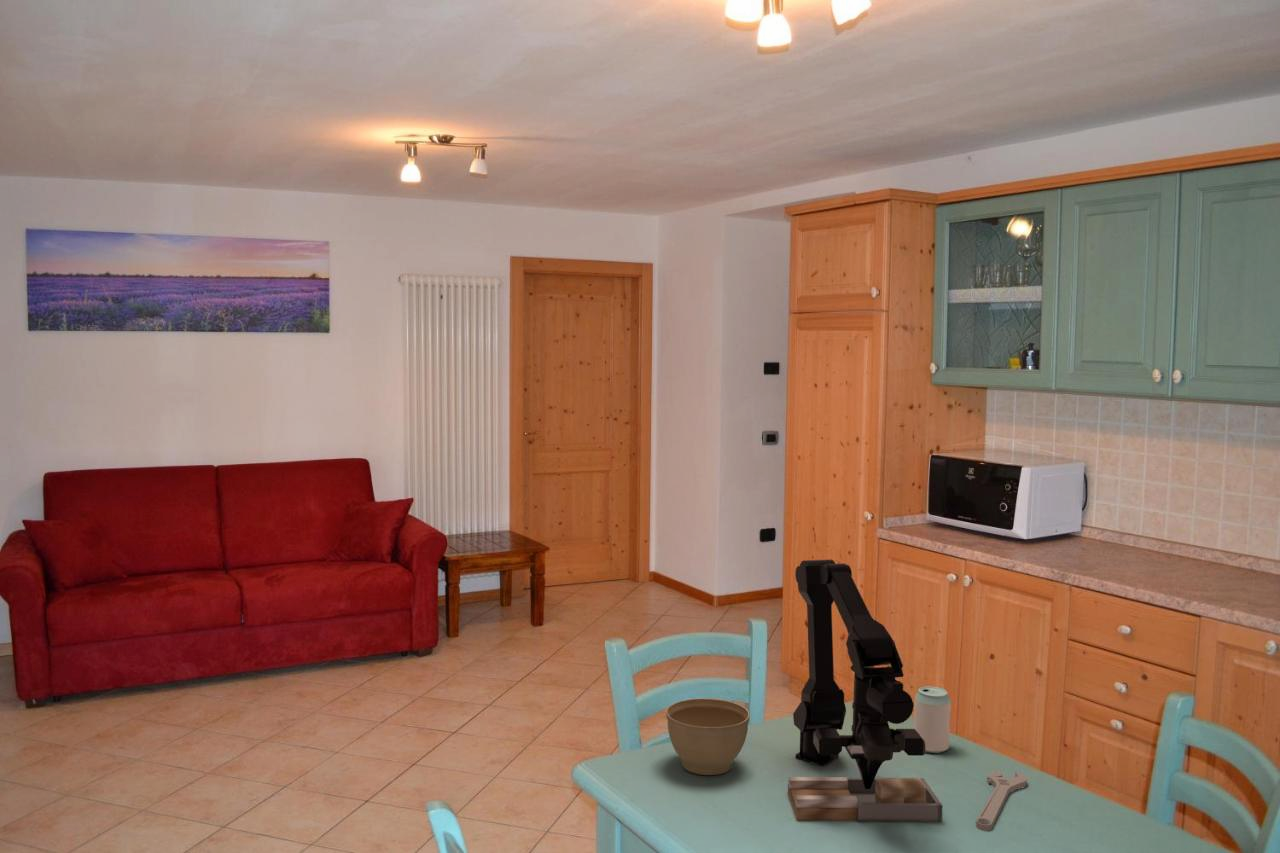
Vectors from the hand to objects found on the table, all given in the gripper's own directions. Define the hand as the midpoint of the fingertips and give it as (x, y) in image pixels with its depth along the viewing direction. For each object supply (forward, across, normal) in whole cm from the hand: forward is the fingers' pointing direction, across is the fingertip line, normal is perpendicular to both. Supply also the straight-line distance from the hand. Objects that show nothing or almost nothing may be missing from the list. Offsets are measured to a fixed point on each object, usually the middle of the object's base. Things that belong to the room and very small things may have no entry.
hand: (867, 788), depth 177 cm
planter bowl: (+4, -27, +17) cm, 32 cm away
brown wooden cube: (+3, +4, 0) cm, 5 cm away
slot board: (+4, -8, 0) cm, 9 cm away
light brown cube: (+3, +8, 0) cm, 8 cm away
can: (+4, +20, +27) cm, 33 cm away
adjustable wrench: (+4, +24, +3) cm, 25 cm away
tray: (+4, +4, 0) cm, 6 cm away
